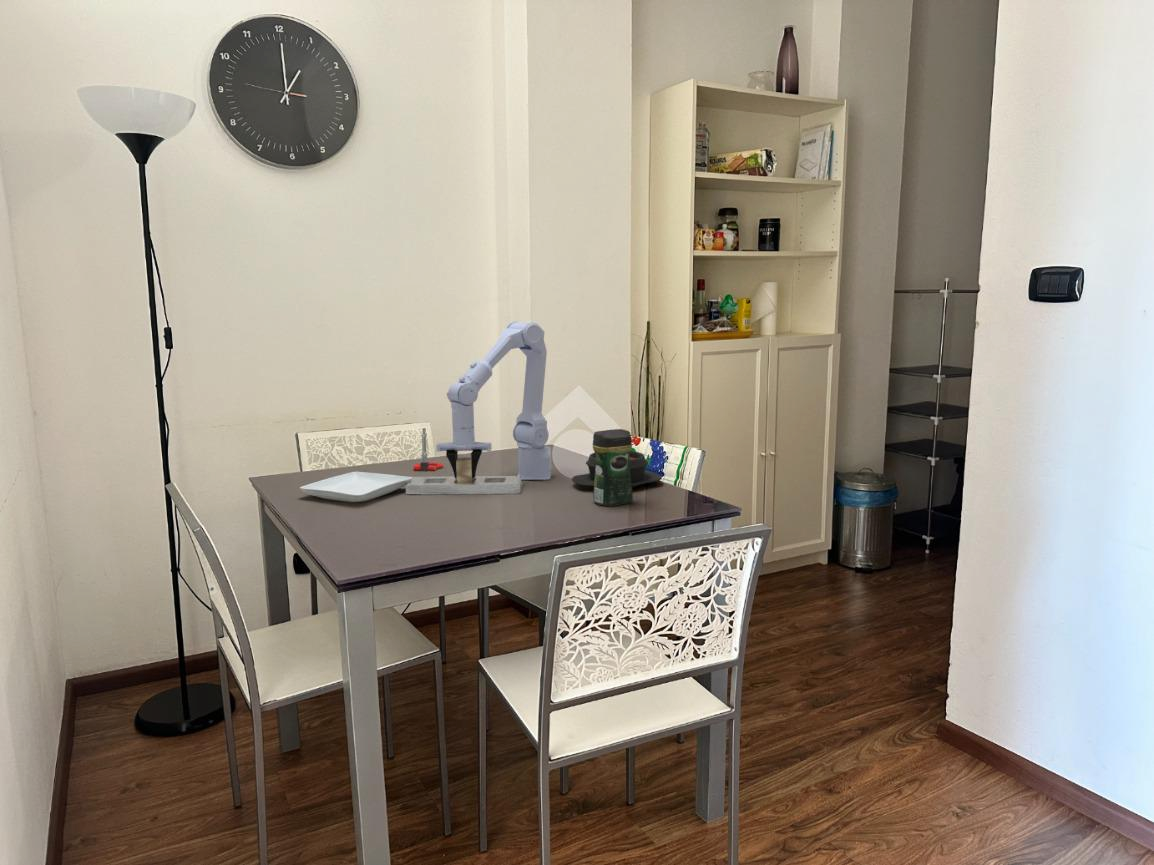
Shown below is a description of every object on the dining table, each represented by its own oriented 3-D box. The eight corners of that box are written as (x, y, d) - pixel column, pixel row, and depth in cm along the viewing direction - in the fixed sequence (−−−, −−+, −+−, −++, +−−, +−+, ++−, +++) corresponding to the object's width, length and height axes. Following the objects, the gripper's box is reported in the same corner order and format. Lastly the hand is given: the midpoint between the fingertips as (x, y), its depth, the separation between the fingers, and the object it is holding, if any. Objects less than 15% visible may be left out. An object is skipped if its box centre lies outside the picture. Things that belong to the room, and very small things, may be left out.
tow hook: (419, 466, 254) (410, 471, 245) (418, 424, 252) (409, 428, 243) (446, 466, 253) (437, 471, 244) (445, 424, 251) (436, 428, 242)
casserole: (582, 496, 213) (581, 464, 212) (564, 480, 231) (564, 451, 229) (672, 489, 219) (672, 458, 218) (648, 474, 237) (648, 446, 236)
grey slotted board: (522, 484, 226) (522, 475, 226) (519, 493, 216) (519, 484, 216) (413, 485, 226) (413, 476, 226) (406, 494, 216) (405, 485, 216)
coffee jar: (622, 496, 212) (622, 425, 209) (637, 503, 205) (637, 430, 202) (588, 501, 208) (587, 428, 205) (602, 508, 201) (602, 433, 198)
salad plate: (297, 498, 213) (297, 486, 212) (355, 481, 231) (354, 469, 231) (360, 507, 203) (359, 494, 203) (415, 489, 222) (414, 476, 221)
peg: (473, 486, 223) (473, 457, 222) (472, 489, 219) (471, 460, 218) (459, 486, 223) (458, 457, 222) (457, 489, 219) (456, 460, 218)
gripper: (433, 430, 214) (435, 480, 217) (489, 429, 214) (490, 480, 217) (438, 425, 221) (440, 474, 224) (491, 425, 221) (493, 474, 224)
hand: (465, 477), depth 221 cm, fingers closed on peg, 4 cm apart
